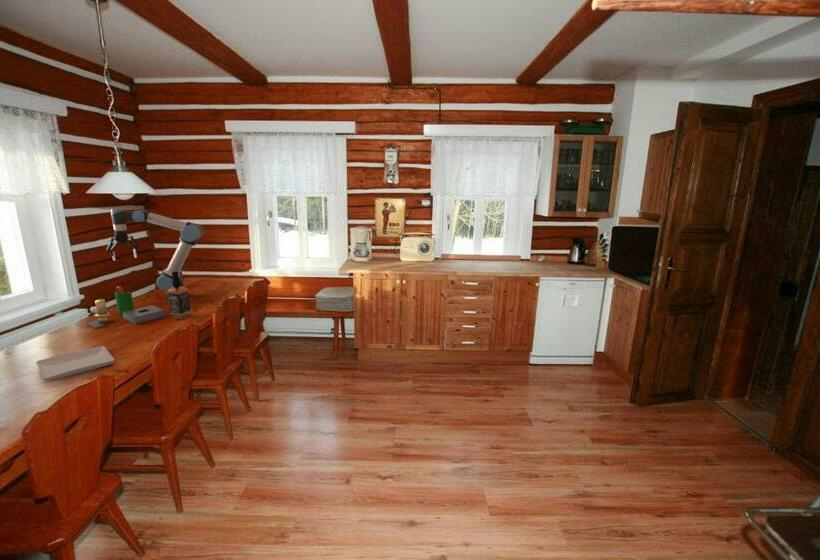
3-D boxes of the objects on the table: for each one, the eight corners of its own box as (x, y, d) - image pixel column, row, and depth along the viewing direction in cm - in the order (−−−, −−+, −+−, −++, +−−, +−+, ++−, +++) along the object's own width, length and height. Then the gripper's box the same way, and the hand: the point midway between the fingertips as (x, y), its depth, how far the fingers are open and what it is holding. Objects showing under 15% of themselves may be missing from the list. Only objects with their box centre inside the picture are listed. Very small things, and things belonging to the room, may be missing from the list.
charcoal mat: (112, 318, 262) (111, 317, 262) (120, 322, 254) (120, 321, 254) (86, 324, 251) (86, 323, 250) (94, 328, 243) (94, 327, 243)
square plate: (116, 366, 195) (115, 359, 194) (43, 386, 176) (41, 378, 175) (104, 350, 213) (103, 344, 212) (37, 367, 193) (35, 360, 192)
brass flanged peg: (108, 319, 258) (105, 298, 254) (112, 322, 253) (109, 300, 250) (93, 322, 251) (90, 300, 248) (97, 325, 247) (94, 302, 243)
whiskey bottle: (169, 318, 262) (162, 272, 254) (181, 314, 271) (175, 269, 264) (181, 320, 259) (174, 274, 251) (193, 315, 268) (187, 270, 261)
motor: (138, 311, 276) (133, 284, 271) (128, 315, 267) (123, 287, 262) (125, 311, 277) (120, 284, 272) (114, 315, 268) (109, 287, 263)
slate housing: (153, 313, 273) (152, 305, 271) (165, 318, 263) (164, 310, 261) (124, 320, 258) (122, 311, 257) (135, 326, 248) (134, 317, 247)
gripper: (137, 228, 292) (142, 255, 297) (97, 231, 272) (103, 261, 277) (141, 229, 287) (146, 257, 293) (101, 232, 267) (107, 262, 273)
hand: (125, 259), depth 285 cm, fingers open, 13 cm apart
